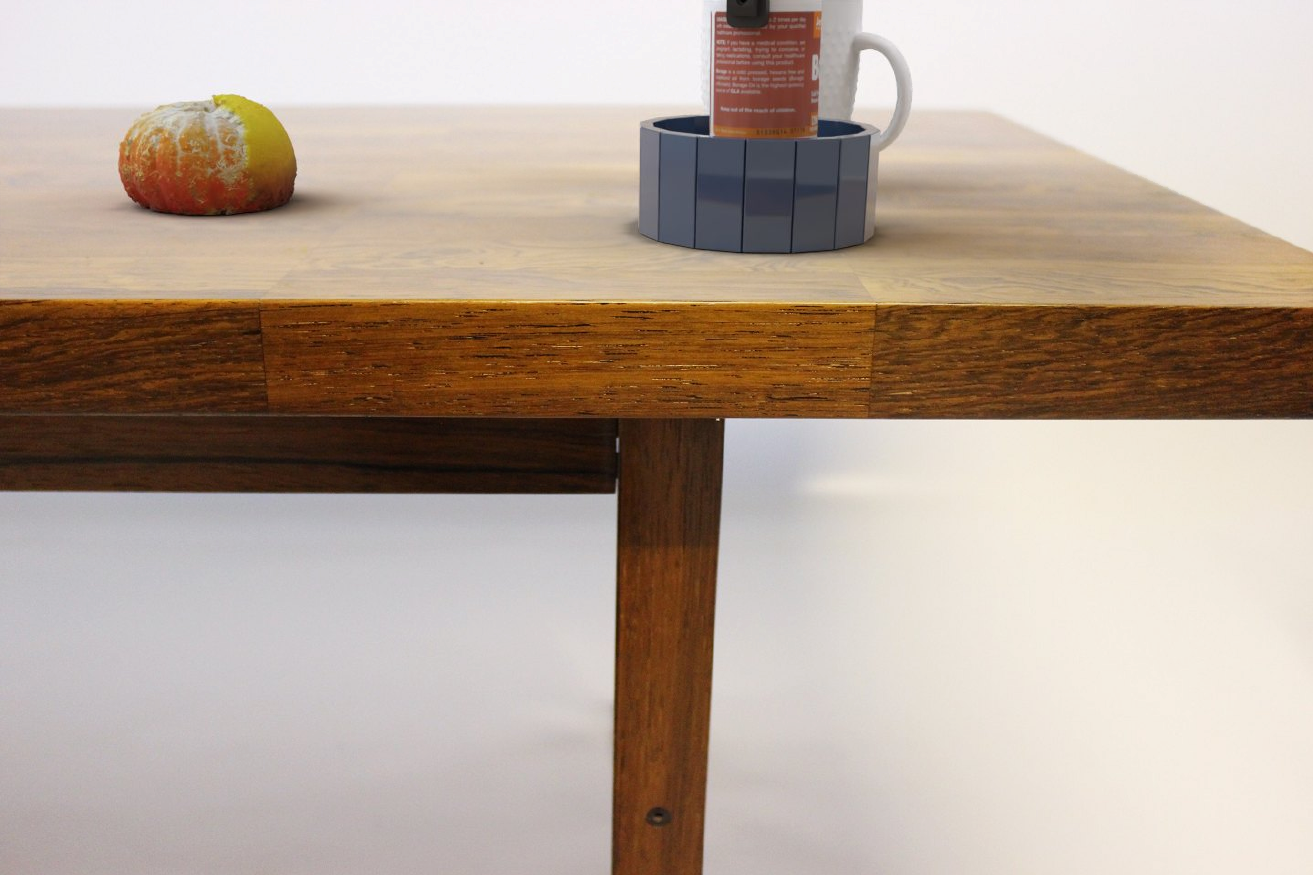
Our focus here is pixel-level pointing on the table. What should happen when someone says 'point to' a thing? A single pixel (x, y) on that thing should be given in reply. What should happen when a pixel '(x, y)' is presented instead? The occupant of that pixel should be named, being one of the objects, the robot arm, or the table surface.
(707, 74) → the mug
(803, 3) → the pill bottle
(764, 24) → the robot arm
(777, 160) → the pot
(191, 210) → the fruit
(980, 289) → the table surface
